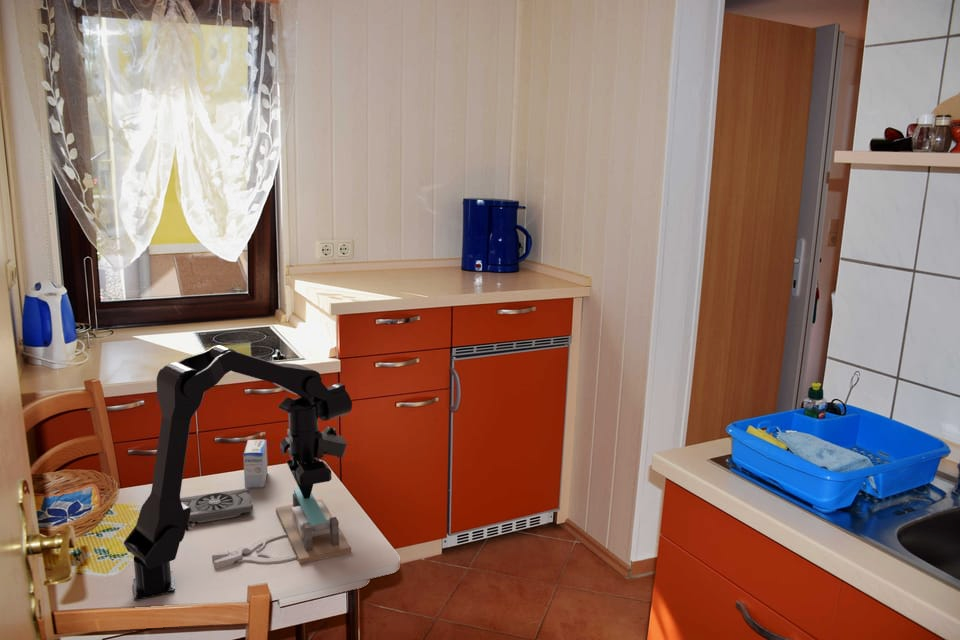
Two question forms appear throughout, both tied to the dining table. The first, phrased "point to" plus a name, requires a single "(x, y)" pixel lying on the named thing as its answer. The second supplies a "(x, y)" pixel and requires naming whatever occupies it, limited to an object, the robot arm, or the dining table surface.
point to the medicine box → (255, 463)
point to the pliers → (229, 558)
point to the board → (316, 541)
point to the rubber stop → (295, 501)
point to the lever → (312, 512)
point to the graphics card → (218, 505)
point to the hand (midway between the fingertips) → (306, 497)
